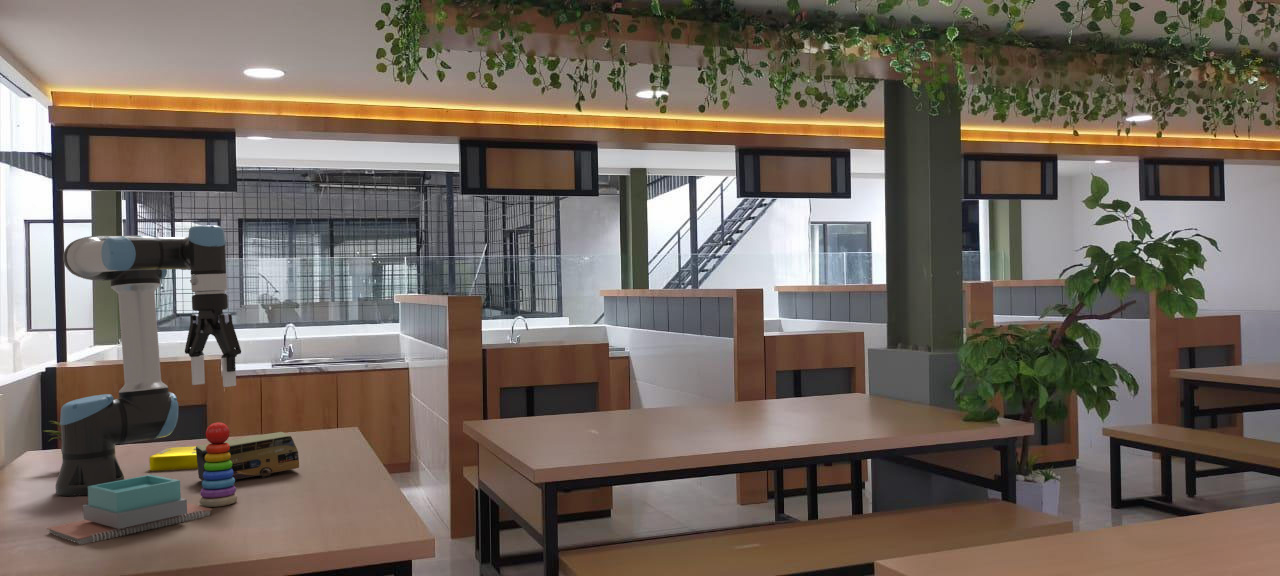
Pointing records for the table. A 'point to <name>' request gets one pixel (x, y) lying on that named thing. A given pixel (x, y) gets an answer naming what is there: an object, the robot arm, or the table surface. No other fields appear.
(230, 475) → the stacking toy
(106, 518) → the brick base
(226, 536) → the table surface
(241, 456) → the toy bus
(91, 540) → the notebook
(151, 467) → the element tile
